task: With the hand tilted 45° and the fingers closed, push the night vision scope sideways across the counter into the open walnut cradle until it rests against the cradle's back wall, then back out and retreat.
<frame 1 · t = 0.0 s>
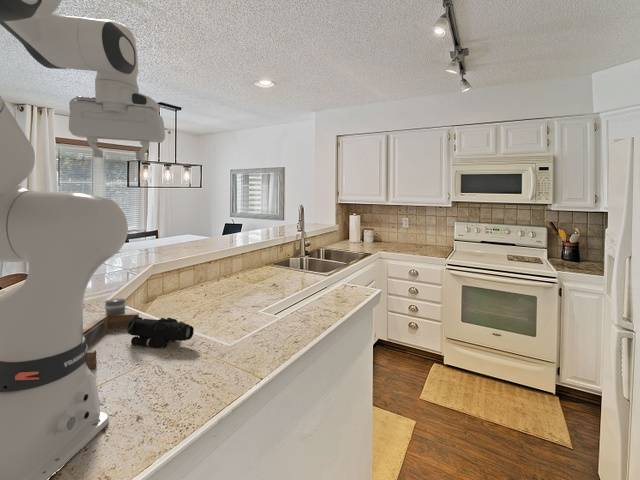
hand: (119, 158, 79), 48 cm above the counter, tool pointing down, fingers open, 8 cm apart
night vision scope: (160, 344, 88), on the counter
gray domed cylinder: (115, 322, 101), on the counter
cradle: (101, 345, 85), on the counter
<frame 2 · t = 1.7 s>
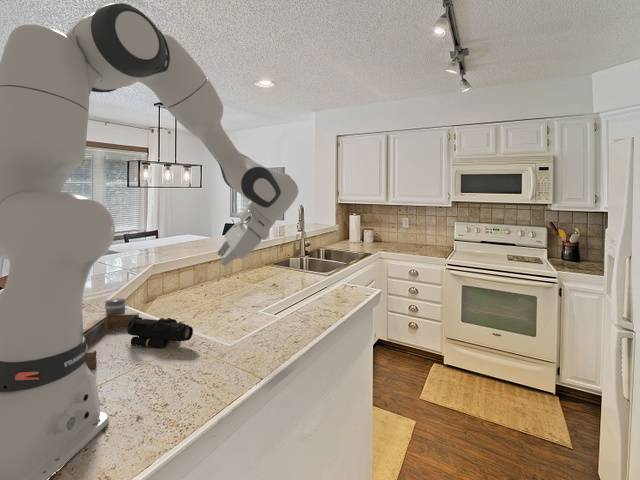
hand: (220, 259, 91), 22 cm above the counter, tool tilted 40°, fingers open, 8 cm apart
nothing on the counter moved.
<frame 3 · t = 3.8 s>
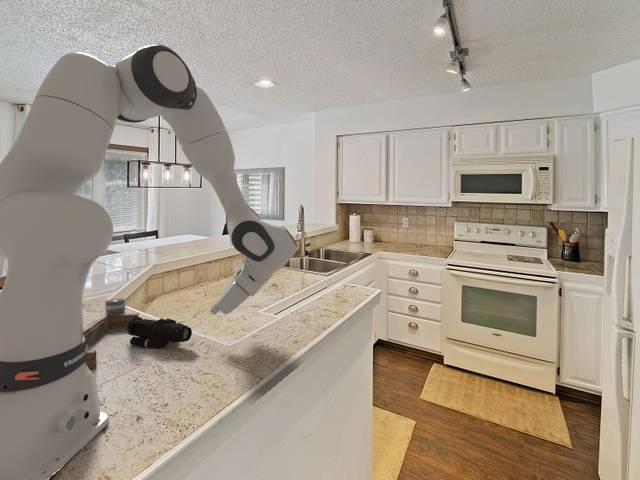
hand: (212, 311, 89), 9 cm above the counter, tool tilted 45°, fingers closed
nothing on the counter moved.
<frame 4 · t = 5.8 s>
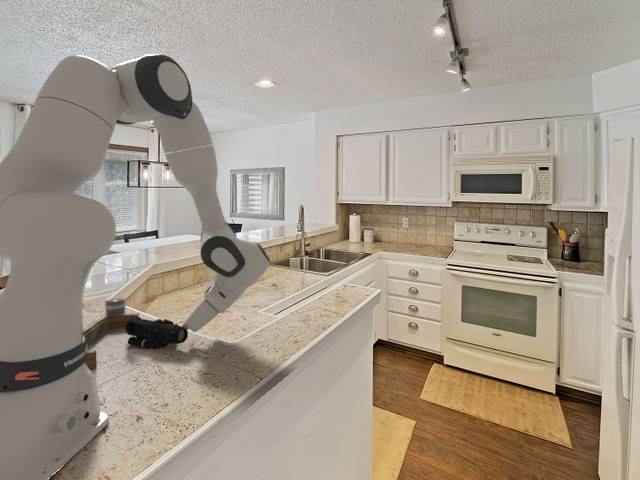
hand: (184, 327, 88), 4 cm above the counter, tool tilted 45°, fingers closed
night vision scope: (156, 346, 87), on the counter, touching gripper
everything else where it was.
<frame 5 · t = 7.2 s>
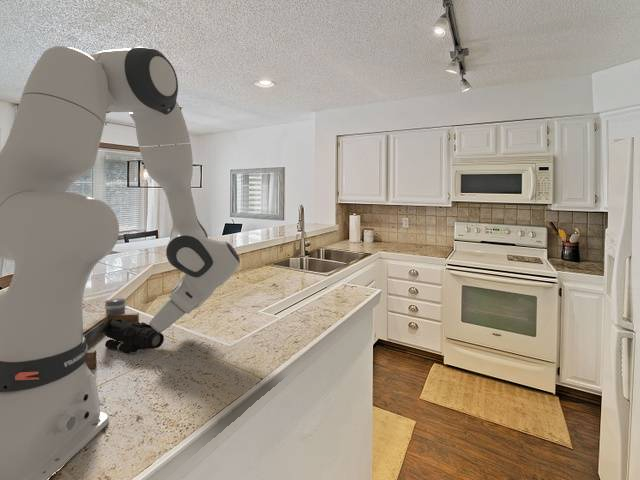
hand: (152, 328, 87), 4 cm above the counter, tool tilted 45°, fingers closed
night vision scope: (133, 349, 84), on the counter, touching gripper
everything else where it was.
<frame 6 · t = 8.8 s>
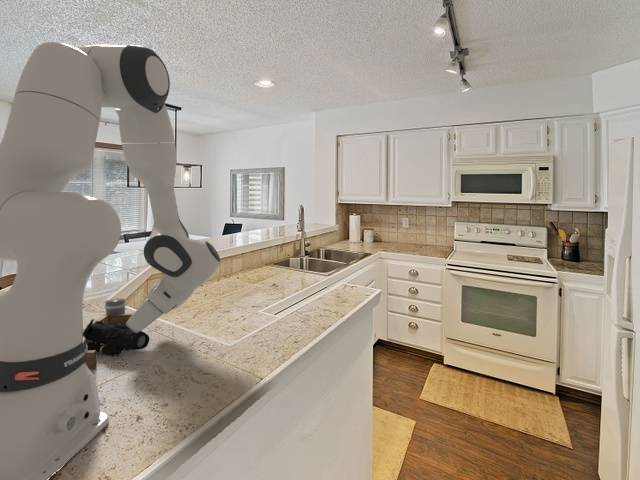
hand: (131, 328, 86), 4 cm above the counter, tool tilted 45°, fingers closed
night vision scope: (116, 351, 82), on the counter, touching gripper
everything else where it was.
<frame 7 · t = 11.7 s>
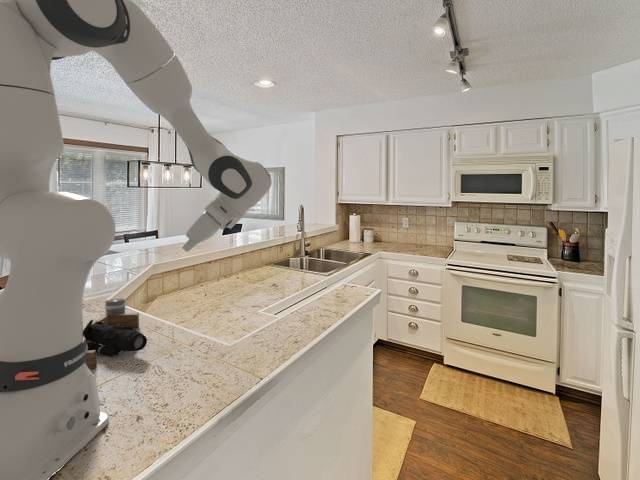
hand: (185, 249, 87), 26 cm above the counter, tool tilted 45°, fingers closed
night vision scope: (115, 352, 82), on the counter
everything else where it was.
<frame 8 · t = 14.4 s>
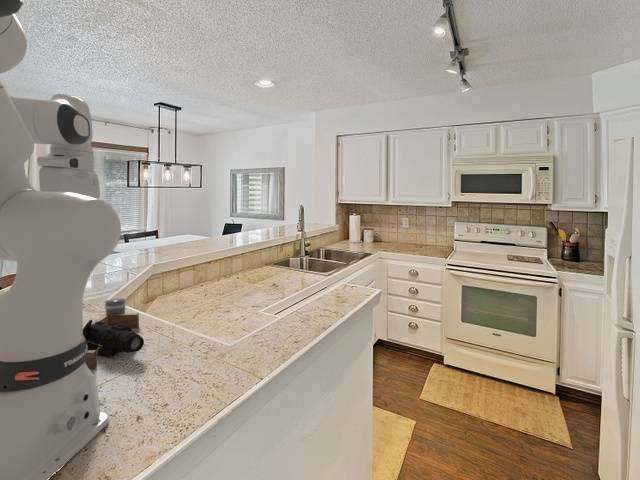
hand: (75, 217, 85), 33 cm above the counter, tool pointing down, fingers closed
nothing on the counter moved.
at the end: night vision scope inside the target area (5.4 cm from its centre), on the counter; night vision scope tilted 0° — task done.
